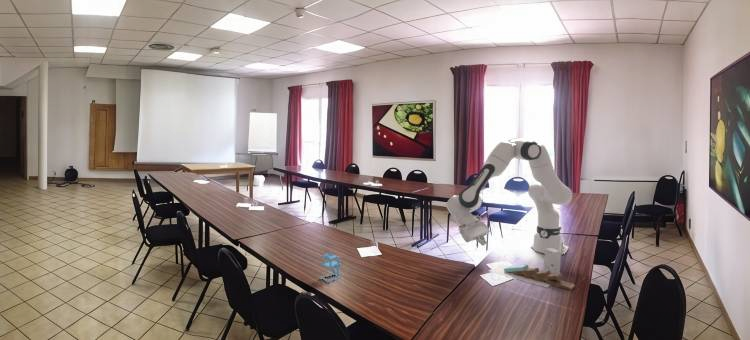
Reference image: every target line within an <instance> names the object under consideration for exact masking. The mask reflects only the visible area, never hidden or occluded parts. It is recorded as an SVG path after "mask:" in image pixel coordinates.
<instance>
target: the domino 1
mask: <svg viewBox="0 0 750 340" xmlns="http://www.w3.org/2000/svg"><path fill="white" fill-rule="evenodd" d="M507 266H508V265H507ZM528 268H530V267H529V265H528V264H522V265H521V264H520V265H519V264H518V265H509V266H508V267H506V268H504V272H513V271H524V270H526V269H528Z"/></svg>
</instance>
